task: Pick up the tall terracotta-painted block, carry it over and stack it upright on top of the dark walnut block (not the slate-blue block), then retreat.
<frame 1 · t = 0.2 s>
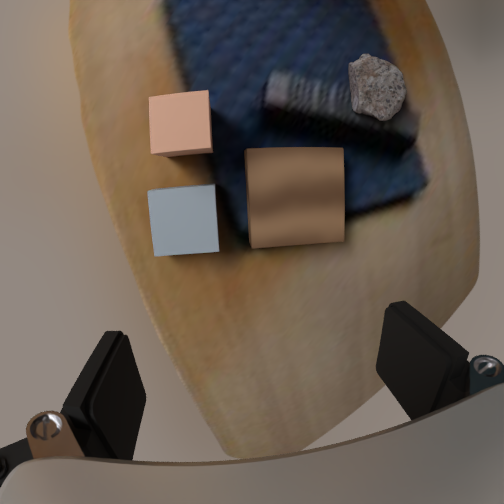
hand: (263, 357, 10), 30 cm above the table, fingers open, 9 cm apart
walnut block: (291, 193, 39), on the table
terracotta block: (188, 132, 35), on the table
rock: (370, 91, 36), on the table
slate block: (186, 216, 39), on the table
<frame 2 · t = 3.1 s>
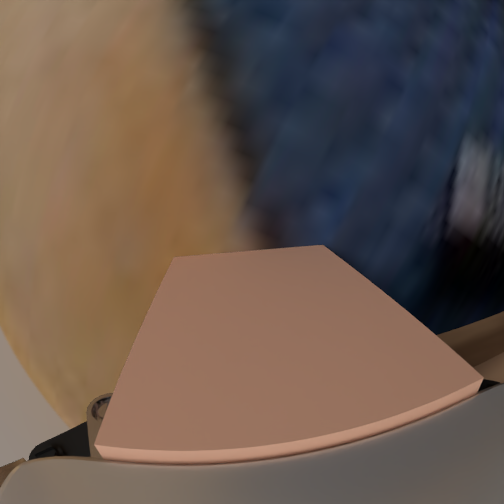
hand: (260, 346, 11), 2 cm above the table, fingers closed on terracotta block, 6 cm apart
walnut block: (437, 393, 17), on the table
terracotta block: (253, 318, 13), on the table, touching gripper
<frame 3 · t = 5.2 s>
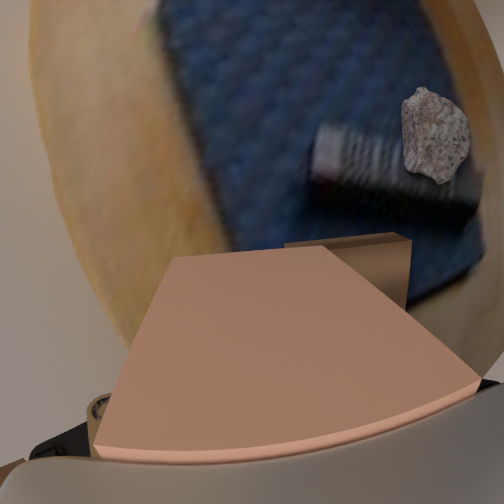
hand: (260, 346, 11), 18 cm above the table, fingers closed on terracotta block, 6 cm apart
walnut block: (340, 291, 31), on the table
terracotta block: (253, 318, 13), point 16 cm above the table, touching gripper
rock: (424, 139, 27), on the table
when the fingers open (6 cm above the table, at t = 7.7 s): terracotta block stays where it is, resting on walnut block.
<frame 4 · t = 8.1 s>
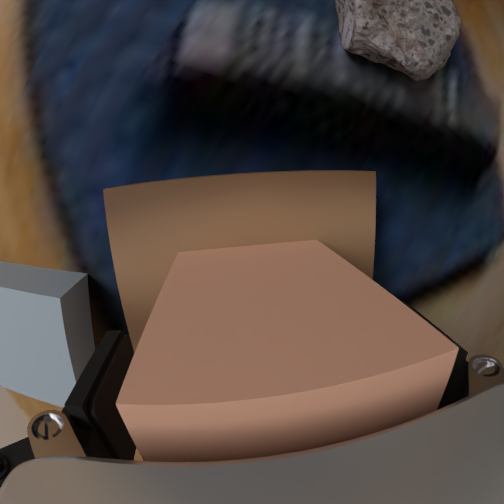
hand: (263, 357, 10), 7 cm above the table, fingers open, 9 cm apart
walnut block: (244, 279, 17), on the table, touching terracotta block
terracotta block: (253, 309, 13), point 4 cm above the table, touching walnut block
rock: (381, 22, 14), on the table
slate block: (45, 320, 17), on the table
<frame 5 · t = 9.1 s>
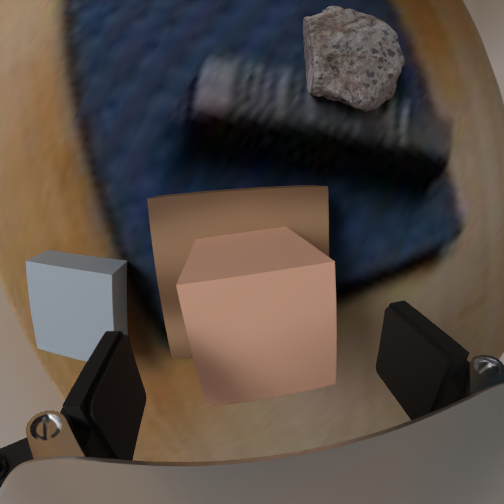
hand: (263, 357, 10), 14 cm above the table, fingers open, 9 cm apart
walnut block: (241, 263, 24), on the table
terracotta block: (247, 276, 20), point 3 cm above the table
rock: (342, 64, 21), on the table
slate block: (87, 297, 23), on the table
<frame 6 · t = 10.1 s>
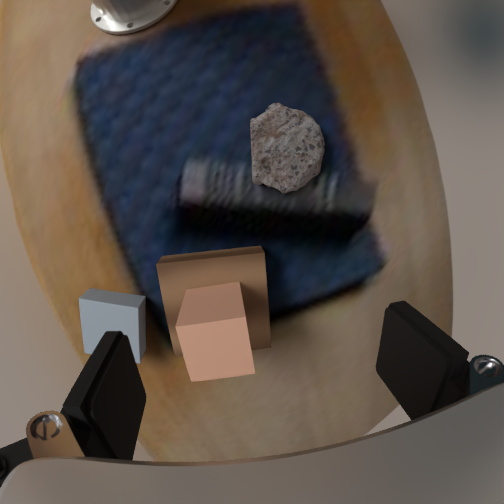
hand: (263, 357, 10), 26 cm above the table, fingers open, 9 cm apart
walnut block: (216, 296, 38), on the table, touching terracotta block
terracotta block: (217, 310, 34), point 4 cm above the table, touching walnut block
rock: (280, 151, 34), on the table
slate block: (118, 318, 37), on the table
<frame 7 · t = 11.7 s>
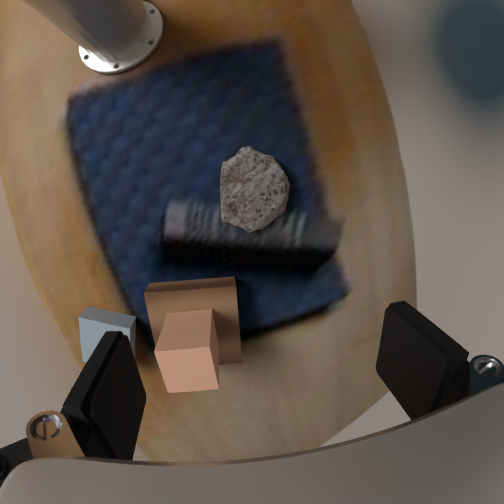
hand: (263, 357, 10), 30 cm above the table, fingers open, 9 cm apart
walnut block: (196, 317, 43), on the table, touching terracotta block
terracotta block: (193, 330, 39), point 4 cm above the table, touching walnut block
rock: (249, 191, 39), on the table
slate block: (112, 332, 42), on the table
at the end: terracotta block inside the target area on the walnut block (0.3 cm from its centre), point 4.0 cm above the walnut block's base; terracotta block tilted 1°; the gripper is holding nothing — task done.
